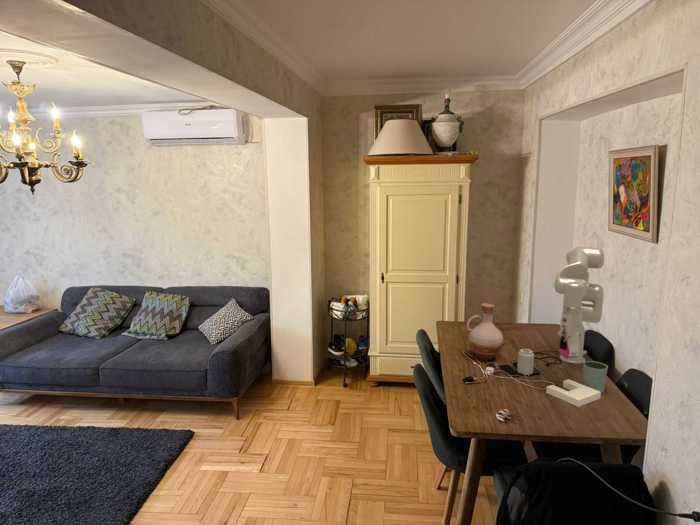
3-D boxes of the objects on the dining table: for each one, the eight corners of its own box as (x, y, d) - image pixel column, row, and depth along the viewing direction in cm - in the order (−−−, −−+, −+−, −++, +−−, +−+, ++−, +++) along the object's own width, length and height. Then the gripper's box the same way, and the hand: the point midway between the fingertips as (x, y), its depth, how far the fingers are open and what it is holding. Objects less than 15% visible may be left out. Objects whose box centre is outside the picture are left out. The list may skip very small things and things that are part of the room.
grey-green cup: (596, 395, 216) (598, 370, 213) (576, 387, 224) (578, 362, 222) (610, 391, 220) (612, 366, 218) (590, 382, 229) (592, 359, 227)
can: (532, 371, 243) (534, 348, 240) (533, 377, 236) (534, 354, 234) (517, 369, 245) (518, 347, 243) (517, 375, 238) (518, 352, 236)
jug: (462, 360, 257) (464, 306, 251) (467, 349, 273) (469, 298, 268) (500, 365, 250) (503, 310, 244) (503, 354, 266) (506, 302, 261)
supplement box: (570, 352, 219) (572, 328, 217) (577, 357, 213) (579, 333, 211) (558, 353, 219) (560, 329, 217) (565, 358, 213) (567, 333, 211)
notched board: (568, 385, 226) (568, 379, 226) (600, 398, 213) (600, 391, 212) (546, 392, 218) (546, 386, 218) (578, 407, 205) (578, 400, 204)
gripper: (567, 314, 205) (564, 353, 208) (591, 308, 213) (588, 346, 217) (552, 310, 211) (549, 348, 214) (576, 305, 220) (573, 341, 223)
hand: (568, 347), depth 215 cm, fingers closed on supplement box, 7 cm apart
